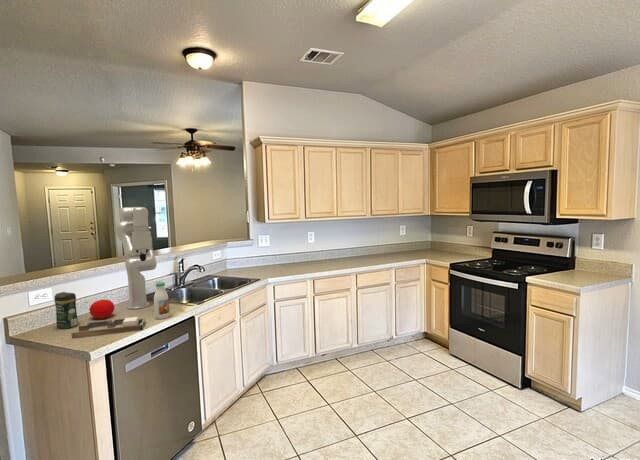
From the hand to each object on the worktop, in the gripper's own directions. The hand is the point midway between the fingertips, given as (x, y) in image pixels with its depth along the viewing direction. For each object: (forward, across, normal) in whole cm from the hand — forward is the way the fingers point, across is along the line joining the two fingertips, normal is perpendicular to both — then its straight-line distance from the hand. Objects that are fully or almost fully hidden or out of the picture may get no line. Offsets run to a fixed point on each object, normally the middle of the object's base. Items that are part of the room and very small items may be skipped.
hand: (143, 260), depth 200 cm
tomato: (+32, +24, -6) cm, 41 cm away
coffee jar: (+32, +38, +4) cm, 50 cm away
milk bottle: (+32, -9, +7) cm, 34 cm away
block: (+32, +4, +20) cm, 38 cm away
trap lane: (+32, +14, +17) cm, 39 cm away
